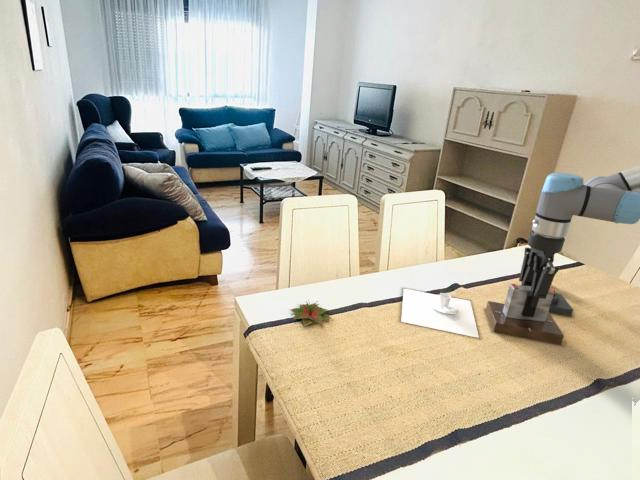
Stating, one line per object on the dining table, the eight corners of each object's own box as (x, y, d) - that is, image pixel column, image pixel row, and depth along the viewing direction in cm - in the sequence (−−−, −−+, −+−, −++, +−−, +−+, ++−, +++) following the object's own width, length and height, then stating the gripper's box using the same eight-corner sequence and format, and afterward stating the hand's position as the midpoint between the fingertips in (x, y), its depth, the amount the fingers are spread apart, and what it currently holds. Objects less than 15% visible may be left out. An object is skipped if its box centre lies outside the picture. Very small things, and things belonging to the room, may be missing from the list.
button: (551, 292, 120) (553, 286, 119) (555, 298, 116) (557, 292, 116) (536, 289, 121) (538, 283, 120) (540, 295, 117) (542, 290, 117)
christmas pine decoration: (281, 310, 111) (282, 296, 110) (316, 301, 117) (317, 287, 115) (302, 333, 101) (303, 318, 100) (340, 322, 107) (341, 307, 105)
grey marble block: (540, 316, 108) (549, 287, 104) (545, 321, 105) (554, 292, 102) (502, 311, 109) (510, 283, 106) (506, 317, 106) (514, 288, 103)
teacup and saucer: (458, 318, 110) (461, 306, 109) (429, 312, 113) (431, 300, 111) (456, 303, 118) (458, 291, 117) (428, 298, 121) (431, 286, 119)
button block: (559, 299, 123) (563, 288, 121) (571, 316, 114) (575, 304, 112) (517, 292, 126) (520, 282, 125) (525, 308, 117) (529, 297, 116)
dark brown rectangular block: (544, 318, 112) (547, 308, 111) (562, 347, 100) (565, 337, 98) (484, 307, 117) (487, 298, 116) (494, 334, 104) (496, 324, 103)
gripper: (519, 222, 106) (499, 296, 114) (547, 244, 92) (522, 327, 100) (548, 224, 105) (526, 299, 113) (581, 247, 91) (553, 331, 99)
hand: (524, 312), depth 107 cm, fingers closed on grey marble block, 3 cm apart
